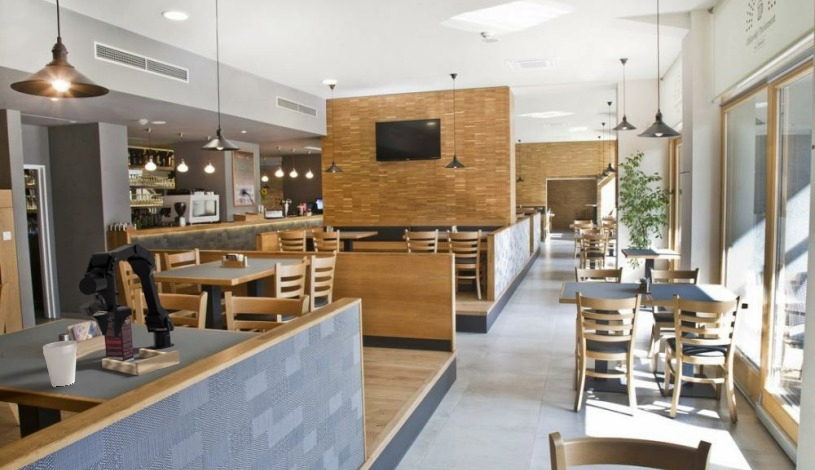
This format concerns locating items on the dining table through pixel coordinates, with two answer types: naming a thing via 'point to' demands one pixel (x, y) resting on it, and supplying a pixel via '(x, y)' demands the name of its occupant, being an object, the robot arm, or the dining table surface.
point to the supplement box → (120, 343)
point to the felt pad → (136, 361)
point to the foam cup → (61, 362)
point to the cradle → (144, 362)
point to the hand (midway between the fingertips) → (110, 336)
